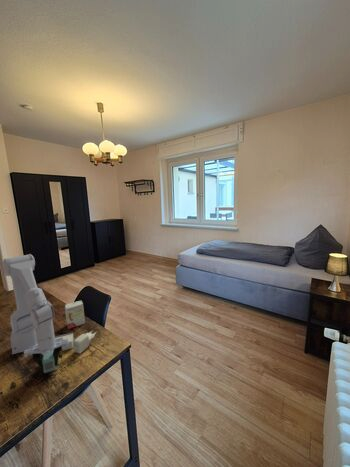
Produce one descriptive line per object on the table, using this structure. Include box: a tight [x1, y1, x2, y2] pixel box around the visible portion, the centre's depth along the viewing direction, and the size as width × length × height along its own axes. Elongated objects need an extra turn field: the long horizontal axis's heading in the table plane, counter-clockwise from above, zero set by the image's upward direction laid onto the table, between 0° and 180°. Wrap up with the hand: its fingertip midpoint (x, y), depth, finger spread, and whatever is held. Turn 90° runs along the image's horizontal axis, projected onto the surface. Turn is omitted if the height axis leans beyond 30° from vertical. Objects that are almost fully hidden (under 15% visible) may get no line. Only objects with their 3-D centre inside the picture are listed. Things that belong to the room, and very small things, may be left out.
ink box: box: [64, 300, 86, 330], centre depth 106 cm, size 9×5×12 cm, turn 125°
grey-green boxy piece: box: [42, 349, 60, 374], centre depth 80 cm, size 4×8×6 cm, turn 22°
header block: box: [37, 332, 75, 357], centre depth 89 cm, size 14×6×4 cm, turn 112°
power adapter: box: [73, 330, 98, 355], centre depth 91 cm, size 11×5×6 cm, turn 159°
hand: (50, 366), depth 78 cm, fingers closed on grey-green boxy piece, 4 cm apart
